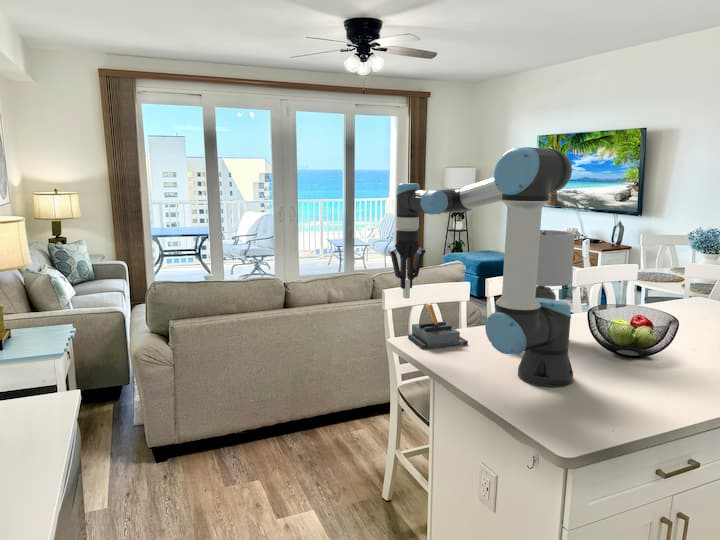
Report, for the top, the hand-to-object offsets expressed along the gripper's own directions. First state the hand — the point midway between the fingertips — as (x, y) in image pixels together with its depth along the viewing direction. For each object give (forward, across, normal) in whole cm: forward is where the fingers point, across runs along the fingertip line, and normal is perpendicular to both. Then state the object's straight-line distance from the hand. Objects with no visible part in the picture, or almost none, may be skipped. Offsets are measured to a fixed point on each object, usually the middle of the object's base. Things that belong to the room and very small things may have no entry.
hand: (406, 297), depth 180 cm
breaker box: (+17, -11, 0) cm, 20 cm away
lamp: (+17, -51, +4) cm, 54 cm away
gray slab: (+17, -20, 0) cm, 26 cm away
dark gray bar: (+17, -4, 0) cm, 17 cm away
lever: (+10, -11, 0) cm, 15 cm away
